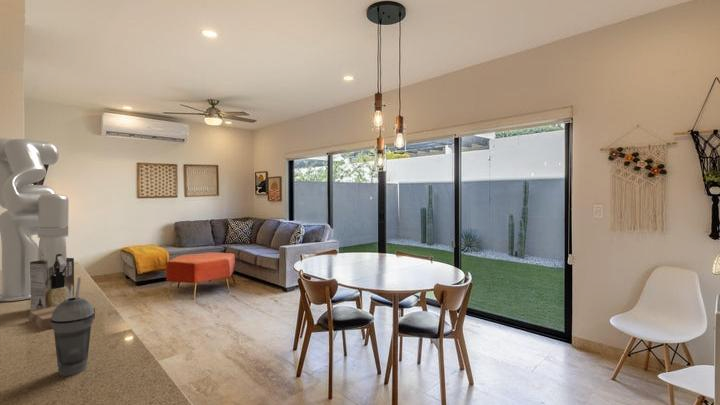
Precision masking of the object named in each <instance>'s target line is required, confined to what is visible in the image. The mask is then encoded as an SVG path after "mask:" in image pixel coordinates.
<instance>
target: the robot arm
mask: <svg viewBox="0 0 720 405" xmlns="http://www.w3.org/2000/svg"><path fill="white" fill-rule="evenodd" d="M59 156H60V155H59V150H58V148H57V146H56V145H55V144H53V143H52V142H49V141H44V140H43V141H41V140H34V139H33V140H32V139H24V138H14V139H12V138H7V137H5V138H4V137H0V207H1V208H2V209H4V210H5V209H6V211H4V212H2V213H0V240H1V242H0V243H1V293H0V302H16V301H17V302H18V301H22V300H23V301H24V300H28V299H30V298H31V296H30V262H33V261H39V260H40V261H43V262H46V263H47V268H48V269H49V268H50V267H52V274H53V276H51V288H52V289H56V288H62V287H64V284H65V272H64V270H65V265H66V258H67V241H66V238H67V237H69V205H70V204H69V202H70V201H69V197H68V196H67V195H64V194H57V193H56V192H55V190H54V189H53V188H52V187H51V186H49V185H43V184H35V183H38V182H40V181H42V180H43V179H44V178H45V177H46V175H47V170H46V168H45V166H44V165H47V166H48V165H50V166H51V165H54V164H56V163H57V162H58V161H59ZM34 235H37V239H38V240H39V241H38V243H37V242H35V240H33V239H32V238H31V236H34ZM55 261H57V263H58V266H54V263H55ZM55 269H57V270H56V272H55Z"/></svg>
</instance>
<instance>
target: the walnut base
mask: <svg viewBox="0 0 720 405" xmlns="http://www.w3.org/2000/svg"><path fill="white" fill-rule="evenodd" d="M56 307H57V306H53V307H47V308H42V309H37V310H32V311H31V310H29V311H28V322H29V323H31V324H33V325H34V326H36V327H37V328H38V329H40V330H42V331H46V330H50V329H53V328H52V322H51V319H52V314H53V312H54V310H55V308H56ZM93 310H94V313H95V314H94V317H93V319H95V318H96V308H95V307H93Z"/></svg>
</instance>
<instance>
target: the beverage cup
mask: <svg viewBox="0 0 720 405" xmlns="http://www.w3.org/2000/svg"><path fill="white" fill-rule="evenodd" d="M81 280H82V277H78V278H77V283H76V291H75V296H74V298H69V299H67V300H64V301H63V302H61V303H60V304H59V305H58V306H57V307H56V308H55V310H54V312H53V314H52V319H51V322H52V328H51V329H52V331H53V335H54V336H53V337H54V345H55V353H56V355H55V356H56V363H57V368H58V375H59V376H61V377H67V376H73V375H74V376H75V375H76V374H77V375H78V374H80V373H82V372H84V371H85V370H86V369H87V364H88V357H89V350H90V349H89V348H90V339H91V331H92V324H93V322H94V318H93V317H94V314H95V315H96V312H95V313H94V310H93V308H94V306H93V304H91V302H90V301H88V300H87V299H85V298H83V297H79V295H80V288H81V283H82V282H81Z"/></svg>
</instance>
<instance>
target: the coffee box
mask: <svg viewBox="0 0 720 405" xmlns="http://www.w3.org/2000/svg"><path fill="white" fill-rule="evenodd" d="M54 266H58V263H57V261H55V263H54ZM56 270H57V269H55V272H56ZM64 272H65V284H64V287H62V288H56V289H52V288H51V276H53V274H52V267H50V268H49V269H48V268H47V263H46V262H43V261H40V260H39V261H33V262H30V296H31V298H30V300H29V301H30V311H32V310H37V309H42V308H47V307H53V306H58V305H59V304H60V303H61V302H63V301H64V300H67V299H69V298H75V258H74V257H66V265H65V270H64Z"/></svg>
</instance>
